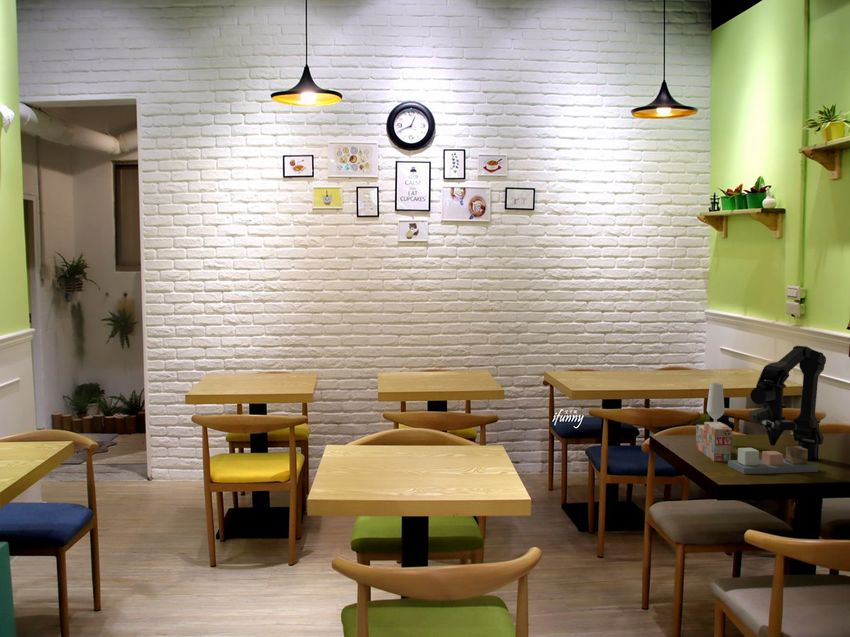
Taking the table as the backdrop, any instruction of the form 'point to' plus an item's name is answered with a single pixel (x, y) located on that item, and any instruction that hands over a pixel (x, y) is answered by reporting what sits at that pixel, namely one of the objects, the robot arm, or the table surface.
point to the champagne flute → (715, 401)
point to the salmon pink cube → (772, 458)
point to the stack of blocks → (714, 440)
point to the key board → (772, 467)
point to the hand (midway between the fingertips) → (772, 445)
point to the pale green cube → (748, 456)
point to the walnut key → (796, 455)
